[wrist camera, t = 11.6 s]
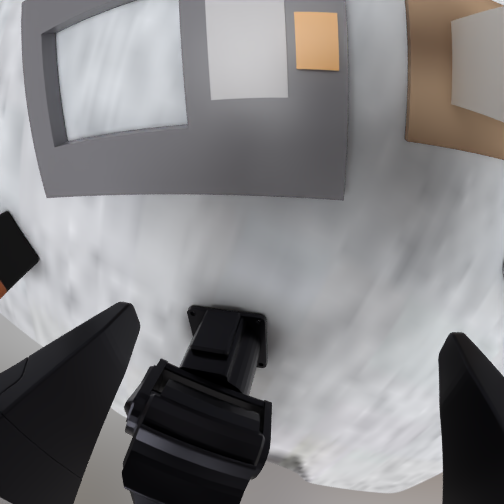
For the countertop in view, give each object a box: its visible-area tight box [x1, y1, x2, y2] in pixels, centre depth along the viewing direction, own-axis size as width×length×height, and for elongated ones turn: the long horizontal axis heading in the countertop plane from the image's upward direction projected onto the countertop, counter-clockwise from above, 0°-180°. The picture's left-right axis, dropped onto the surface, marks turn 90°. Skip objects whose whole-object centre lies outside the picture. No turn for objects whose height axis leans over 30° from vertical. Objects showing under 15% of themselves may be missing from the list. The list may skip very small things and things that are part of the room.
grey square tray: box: [21, 0, 348, 200], centre depth 14 cm, size 17×22×2 cm
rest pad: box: [405, 0, 504, 160], centre depth 11 cm, size 10×9×1 cm
